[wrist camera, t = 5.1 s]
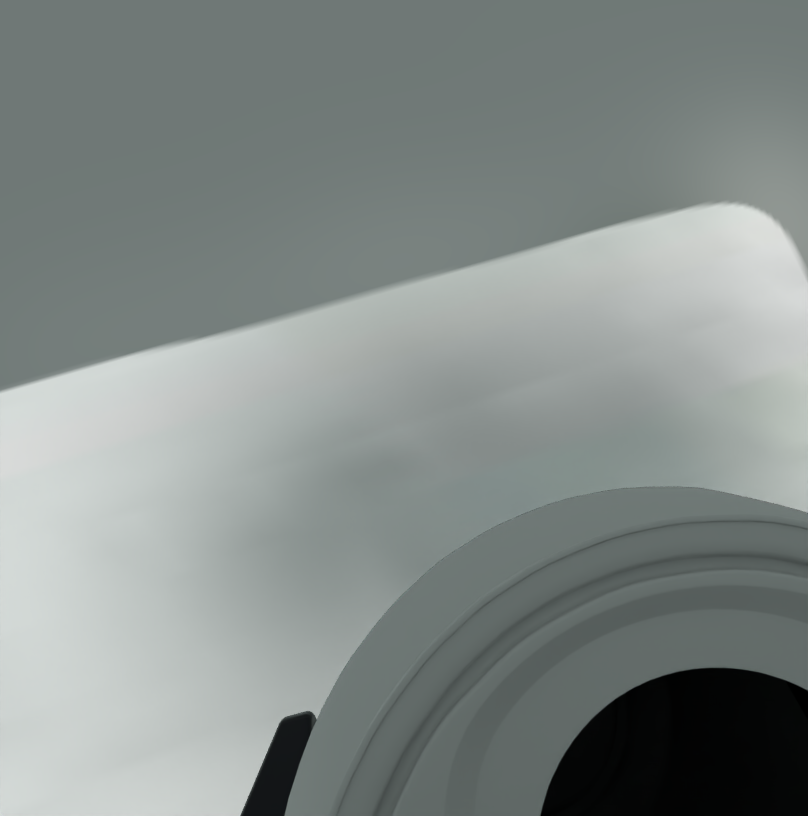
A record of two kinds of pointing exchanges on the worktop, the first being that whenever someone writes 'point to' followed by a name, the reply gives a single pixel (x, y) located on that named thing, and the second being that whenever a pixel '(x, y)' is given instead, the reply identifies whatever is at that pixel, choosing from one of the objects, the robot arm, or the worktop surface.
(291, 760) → the robot arm
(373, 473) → the worktop surface
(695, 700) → the beverage can
